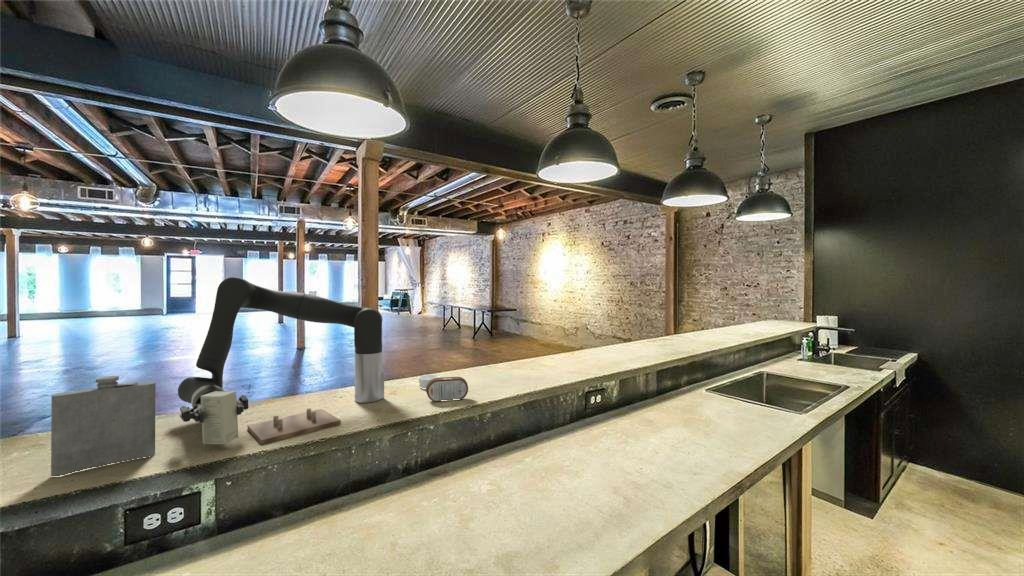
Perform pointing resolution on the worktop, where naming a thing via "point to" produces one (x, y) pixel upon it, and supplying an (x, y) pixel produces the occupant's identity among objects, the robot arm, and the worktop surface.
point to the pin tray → (292, 425)
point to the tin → (447, 388)
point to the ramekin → (426, 380)
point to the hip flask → (102, 425)
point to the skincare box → (219, 417)
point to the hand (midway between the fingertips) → (221, 414)
